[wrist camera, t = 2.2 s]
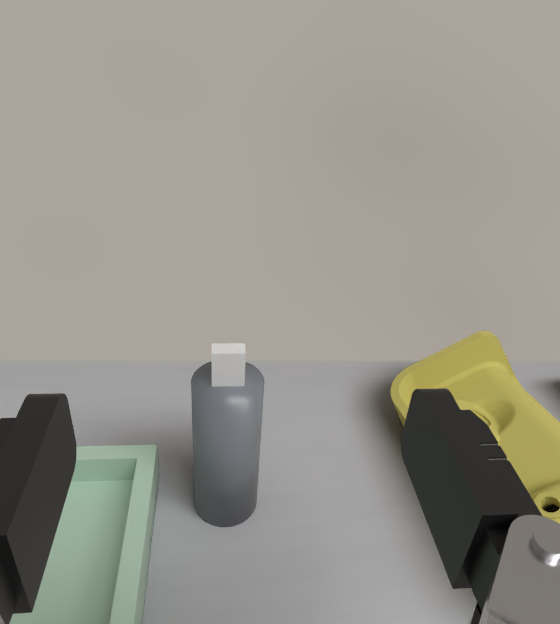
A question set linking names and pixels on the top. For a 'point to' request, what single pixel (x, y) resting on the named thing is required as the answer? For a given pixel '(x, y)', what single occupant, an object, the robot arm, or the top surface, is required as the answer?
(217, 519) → the grey bottle white cap
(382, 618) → the top surface
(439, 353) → the plastic component
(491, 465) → the robot arm
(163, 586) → the top surface
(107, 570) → the tray
